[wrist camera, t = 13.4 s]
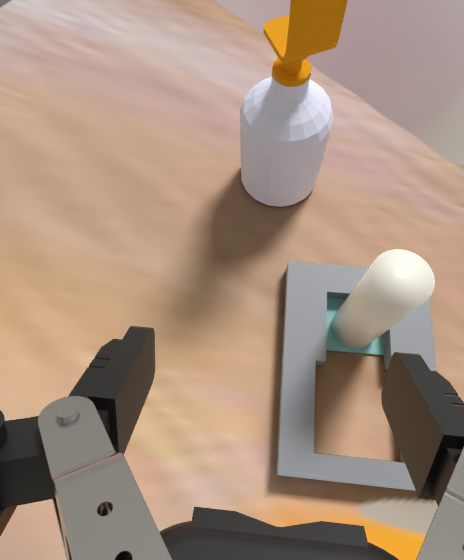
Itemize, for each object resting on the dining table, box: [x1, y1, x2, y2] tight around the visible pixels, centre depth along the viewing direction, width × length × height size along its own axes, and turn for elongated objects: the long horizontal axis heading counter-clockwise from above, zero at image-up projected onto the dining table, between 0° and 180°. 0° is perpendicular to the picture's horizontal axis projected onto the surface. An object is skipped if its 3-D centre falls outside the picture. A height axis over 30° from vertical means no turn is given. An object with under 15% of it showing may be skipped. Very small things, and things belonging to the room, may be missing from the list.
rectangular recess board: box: [276, 261, 436, 491], centre depth 37 cm, size 20×14×2 cm
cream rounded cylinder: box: [332, 249, 435, 349], centre depth 33 cm, size 4×4×13 cm
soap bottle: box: [240, 0, 347, 207], centre depth 35 cm, size 9×9×25 cm
